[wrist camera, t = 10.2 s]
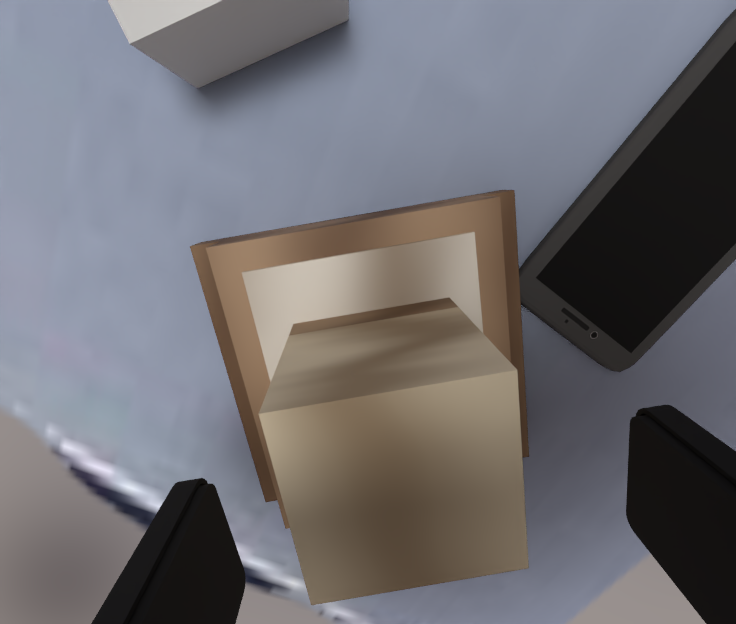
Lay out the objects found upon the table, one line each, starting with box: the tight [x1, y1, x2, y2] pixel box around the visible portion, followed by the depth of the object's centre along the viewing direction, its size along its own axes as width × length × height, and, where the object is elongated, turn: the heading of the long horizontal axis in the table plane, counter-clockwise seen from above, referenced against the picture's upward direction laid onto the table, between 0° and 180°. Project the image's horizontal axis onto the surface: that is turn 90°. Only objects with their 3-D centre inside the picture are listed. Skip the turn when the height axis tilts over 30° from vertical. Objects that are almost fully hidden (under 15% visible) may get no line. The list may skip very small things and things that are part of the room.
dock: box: [190, 190, 529, 529], centre depth 17 cm, size 12×12×3 cm
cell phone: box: [519, 9, 736, 372], centre depth 17 cm, size 7×14×1 cm, turn 144°
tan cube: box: [259, 297, 529, 605], centre depth 12 cm, size 6×6×6 cm
